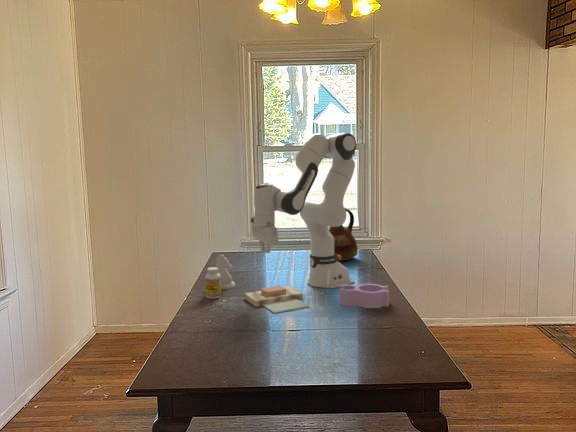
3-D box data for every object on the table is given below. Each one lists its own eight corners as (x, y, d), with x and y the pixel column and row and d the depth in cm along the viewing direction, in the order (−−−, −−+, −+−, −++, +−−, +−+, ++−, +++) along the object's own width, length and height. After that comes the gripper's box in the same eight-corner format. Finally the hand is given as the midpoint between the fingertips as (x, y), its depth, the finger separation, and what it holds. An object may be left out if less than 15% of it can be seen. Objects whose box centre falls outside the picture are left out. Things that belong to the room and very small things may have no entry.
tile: (279, 289, 223) (279, 285, 223) (286, 293, 218) (286, 289, 217) (261, 292, 219) (261, 288, 219) (267, 296, 214) (267, 292, 213)
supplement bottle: (203, 298, 220) (202, 269, 218) (209, 294, 226) (208, 266, 224) (218, 299, 218) (217, 270, 216) (223, 295, 224) (222, 266, 222)
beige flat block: (289, 291, 229) (289, 285, 229) (302, 298, 218) (302, 293, 218) (244, 298, 219) (244, 293, 219) (255, 306, 209) (255, 301, 208)
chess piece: (230, 289, 232) (229, 258, 229) (210, 288, 235) (209, 256, 233) (238, 283, 241) (237, 253, 239) (219, 282, 244) (218, 251, 242)
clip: (339, 308, 207) (339, 291, 206) (340, 298, 219) (340, 282, 218) (389, 309, 204) (389, 293, 203) (387, 300, 216) (387, 284, 215)
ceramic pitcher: (316, 257, 292) (316, 205, 287) (348, 254, 298) (349, 203, 293) (329, 265, 274) (329, 210, 269) (363, 262, 280) (364, 208, 275)
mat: (296, 299, 217) (296, 298, 217) (309, 307, 207) (309, 305, 207) (262, 305, 210) (262, 304, 210) (274, 313, 200) (274, 312, 200)
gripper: (281, 223, 213) (282, 255, 215) (261, 216, 231) (262, 246, 233) (268, 225, 210) (268, 257, 212) (248, 218, 228) (249, 248, 230)
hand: (265, 251), depth 223 cm, fingers open, 3 cm apart
